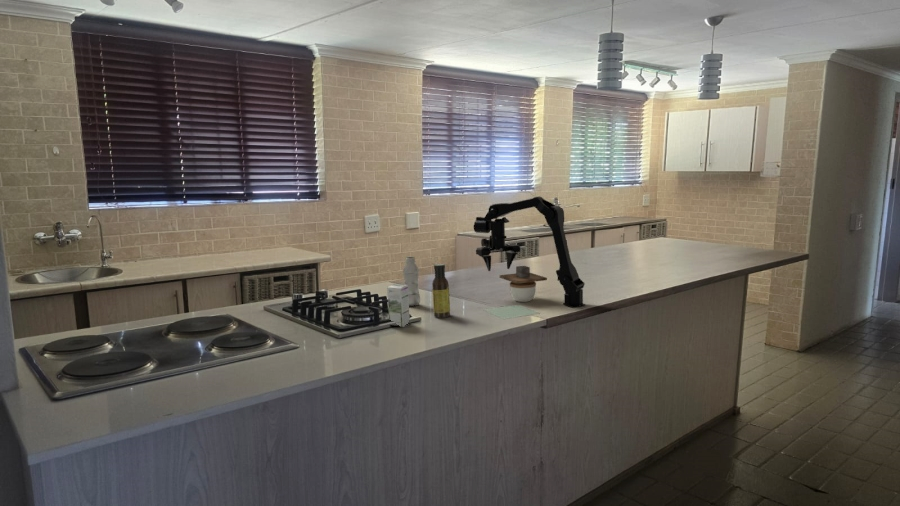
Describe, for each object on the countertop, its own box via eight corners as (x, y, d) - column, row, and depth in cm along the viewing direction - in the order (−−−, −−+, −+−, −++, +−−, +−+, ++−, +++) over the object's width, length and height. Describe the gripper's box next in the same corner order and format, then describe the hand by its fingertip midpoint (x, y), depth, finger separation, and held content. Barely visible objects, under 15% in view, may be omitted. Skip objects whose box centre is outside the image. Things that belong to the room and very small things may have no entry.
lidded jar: (535, 298, 243) (535, 276, 242) (536, 304, 233) (536, 281, 231) (510, 298, 244) (509, 276, 243) (510, 304, 234) (509, 281, 232)
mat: (518, 305, 231) (518, 304, 231) (540, 314, 216) (540, 313, 216) (482, 311, 224) (482, 310, 224) (503, 320, 210) (503, 319, 210)
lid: (528, 274, 246) (528, 262, 246) (546, 280, 234) (546, 268, 233) (499, 277, 241) (499, 265, 240) (517, 283, 228) (517, 271, 227)
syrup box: (410, 323, 209) (408, 284, 207) (402, 327, 204) (400, 287, 202) (396, 322, 212) (395, 283, 210) (388, 326, 207) (386, 286, 204)
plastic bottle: (418, 307, 234) (416, 258, 231) (402, 307, 235) (400, 258, 232) (422, 303, 240) (420, 256, 237) (406, 303, 241) (404, 256, 239)
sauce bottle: (453, 316, 217) (451, 264, 214) (439, 319, 214) (437, 266, 211) (444, 313, 222) (442, 262, 220) (430, 316, 219) (428, 264, 216)
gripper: (507, 230, 254) (508, 265, 256) (469, 233, 246) (470, 269, 248) (520, 232, 244) (521, 268, 246) (481, 235, 236) (482, 273, 238)
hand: (498, 270), depth 245 cm, fingers open, 9 cm apart
